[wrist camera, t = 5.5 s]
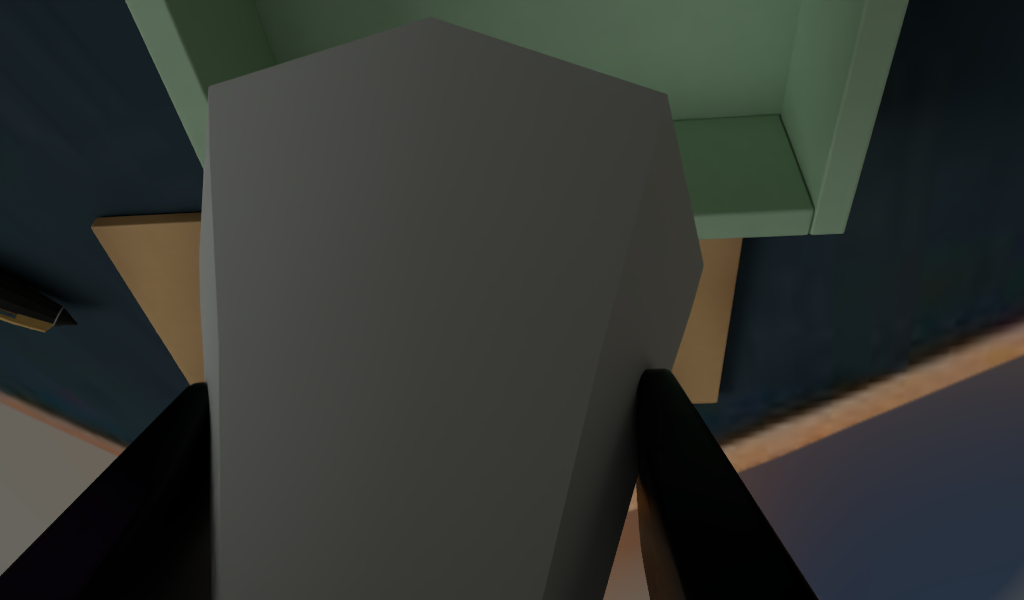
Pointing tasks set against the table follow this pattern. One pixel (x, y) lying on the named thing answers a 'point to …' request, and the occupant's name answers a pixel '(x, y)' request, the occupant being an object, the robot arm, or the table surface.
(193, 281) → the cork mat
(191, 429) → the robot arm
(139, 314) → the table surface
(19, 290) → the fountain pen
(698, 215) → the bin
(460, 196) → the flask
